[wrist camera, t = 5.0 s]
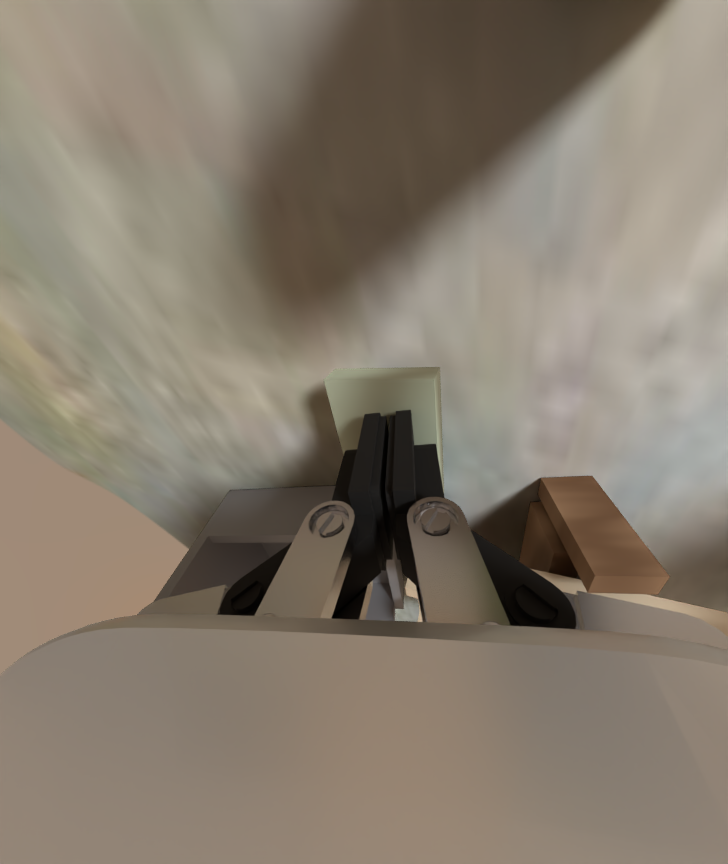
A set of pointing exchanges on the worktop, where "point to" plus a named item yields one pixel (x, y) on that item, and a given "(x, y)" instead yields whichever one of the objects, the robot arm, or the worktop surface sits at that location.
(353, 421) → the lever
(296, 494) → the bin
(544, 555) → the fulcrum
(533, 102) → the worktop surface
